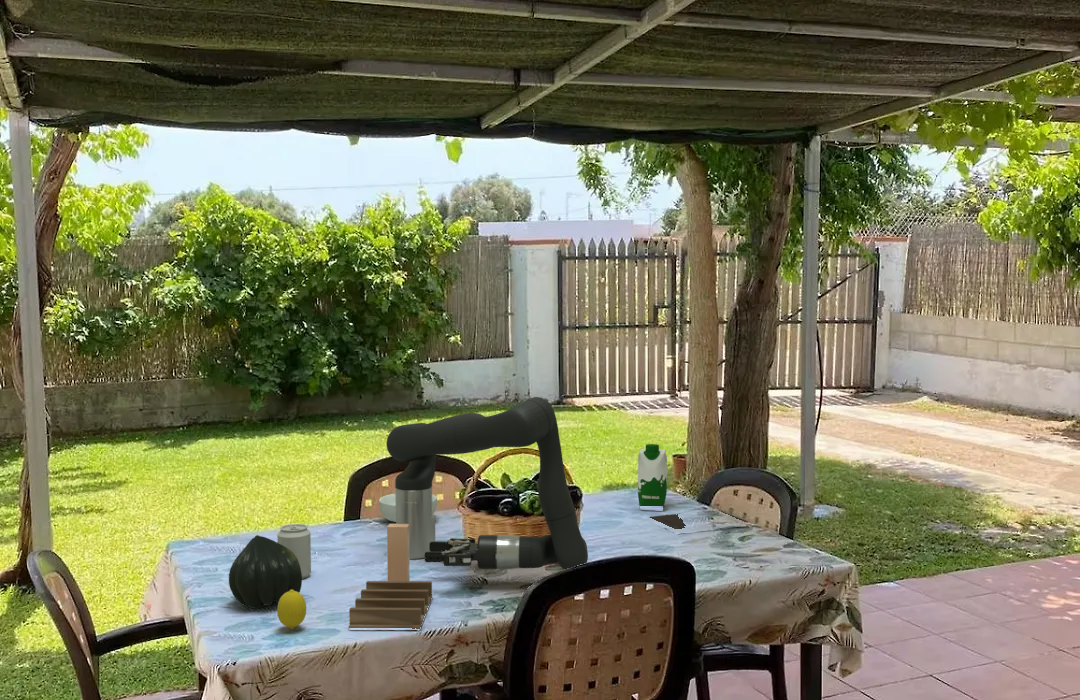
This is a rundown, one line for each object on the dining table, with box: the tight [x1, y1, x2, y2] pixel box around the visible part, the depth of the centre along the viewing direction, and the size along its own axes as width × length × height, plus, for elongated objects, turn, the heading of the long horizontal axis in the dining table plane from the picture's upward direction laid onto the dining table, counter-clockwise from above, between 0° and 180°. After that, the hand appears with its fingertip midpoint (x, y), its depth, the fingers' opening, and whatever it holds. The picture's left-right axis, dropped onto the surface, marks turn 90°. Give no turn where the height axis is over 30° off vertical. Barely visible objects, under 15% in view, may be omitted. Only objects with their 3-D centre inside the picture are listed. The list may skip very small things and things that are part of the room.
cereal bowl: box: [378, 493, 438, 523], centre depth 277 cm, size 17×17×7 cm
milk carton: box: [637, 443, 668, 507], centre depth 294 cm, size 9×9×20 cm
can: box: [276, 523, 312, 580], centre depth 224 cm, size 8×8×12 cm
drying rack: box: [348, 580, 433, 629], centre depth 199 cm, size 20×14×4 cm
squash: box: [228, 534, 303, 609], centre depth 206 cm, size 14×15×15 cm
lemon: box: [276, 590, 307, 630], centre depth 190 cm, size 6×6×8 cm
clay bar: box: [386, 523, 411, 581], centre depth 217 cm, size 3×4×14 cm, turn 89°
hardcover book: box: [648, 509, 749, 529], centre depth 275 cm, size 16×23×2 cm
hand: (427, 551), depth 217 cm, fingers open, 8 cm apart
